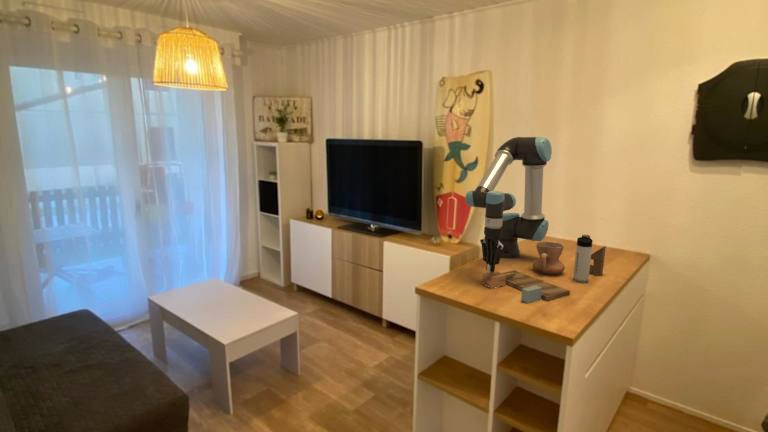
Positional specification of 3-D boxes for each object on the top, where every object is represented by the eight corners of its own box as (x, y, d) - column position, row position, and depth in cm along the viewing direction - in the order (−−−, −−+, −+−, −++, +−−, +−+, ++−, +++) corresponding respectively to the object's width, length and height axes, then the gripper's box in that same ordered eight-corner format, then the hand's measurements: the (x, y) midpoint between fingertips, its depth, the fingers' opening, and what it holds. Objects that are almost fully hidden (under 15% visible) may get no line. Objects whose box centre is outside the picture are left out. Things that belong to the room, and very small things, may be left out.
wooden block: (599, 276, 192) (604, 239, 189) (576, 270, 200) (580, 235, 197) (602, 274, 195) (606, 238, 191) (579, 269, 203) (583, 234, 199)
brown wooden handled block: (482, 284, 180) (482, 273, 179) (508, 278, 188) (509, 268, 187) (491, 289, 175) (492, 278, 174) (518, 282, 183) (519, 272, 182)
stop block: (521, 300, 163) (522, 288, 162) (534, 296, 167) (535, 285, 166) (527, 303, 160) (528, 291, 159) (541, 299, 164) (542, 287, 163)
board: (492, 278, 188) (493, 274, 187) (514, 273, 195) (514, 270, 194) (547, 301, 162) (547, 296, 162) (569, 294, 169) (570, 290, 169)
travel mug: (587, 278, 188) (591, 237, 185) (589, 283, 182) (593, 240, 178) (572, 277, 190) (576, 235, 187) (573, 281, 184) (578, 239, 180)
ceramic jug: (539, 264, 209) (541, 238, 206) (569, 270, 199) (571, 242, 196) (525, 274, 196) (527, 245, 193) (556, 280, 186) (558, 251, 183)
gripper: (476, 224, 182) (473, 274, 186) (497, 230, 171) (494, 283, 175) (489, 223, 185) (486, 272, 190) (510, 228, 174) (506, 281, 179)
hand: (489, 277), depth 183 cm, fingers closed
